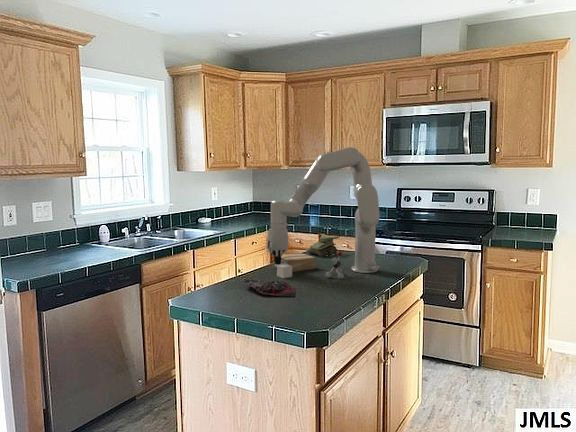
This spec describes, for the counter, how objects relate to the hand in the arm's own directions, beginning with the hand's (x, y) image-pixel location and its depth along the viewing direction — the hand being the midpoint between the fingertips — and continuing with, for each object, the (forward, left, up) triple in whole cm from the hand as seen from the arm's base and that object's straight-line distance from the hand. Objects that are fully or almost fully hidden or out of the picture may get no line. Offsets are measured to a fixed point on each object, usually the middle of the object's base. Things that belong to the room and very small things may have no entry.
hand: (277, 263), depth 233 cm
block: (-12, +4, -3) cm, 13 cm away
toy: (+17, -44, -3) cm, 47 cm away
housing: (0, -10, -3) cm, 10 cm away
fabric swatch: (-28, +22, -4) cm, 36 cm away
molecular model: (-24, -17, -3) cm, 30 cm away
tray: (0, -9, -2) cm, 9 cm away
